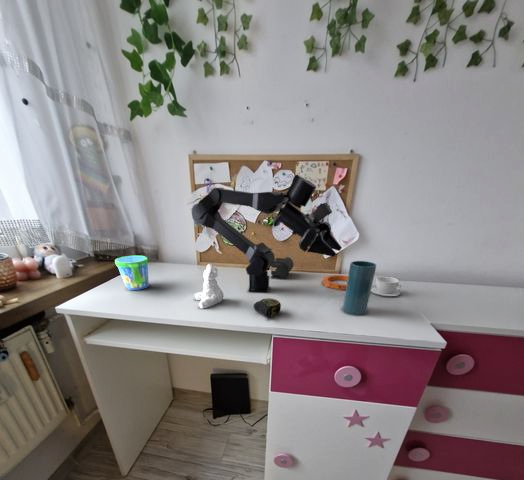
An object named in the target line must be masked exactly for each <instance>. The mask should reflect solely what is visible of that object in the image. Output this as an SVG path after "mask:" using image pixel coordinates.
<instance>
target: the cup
mask: <svg viewBox="0 0 524 480" xmlns="http://www.w3.org/2000/svg"><path fill="white" fill-rule="evenodd" d="M348 270H349V271H348V274H347V276H348V280H347V281H346V284H347V286H346V290H345V293H344V297H343V304H342V311H343V312H344V313H345V314H348V315H352V316H363V315H365V314H367V311H368V305H369V302H370V296H371V293H372V292H371V288H373V283H374V279H375V273H376V270H377V264H376V263H375V262H372V261H366V260H354V261H351V262H350V265H349V269H348Z"/></svg>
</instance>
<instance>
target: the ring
mask: <svg viewBox="0 0 524 480" xmlns="http://www.w3.org/2000/svg"><path fill="white" fill-rule="evenodd" d="M347 280H348V275H344V274H331V275H326V276H324V277H323V279H322V284H323V285H324V286H325V287H327V288H331V289H334V290H340V291H346V286H347V283H346V284H345V283H336V282H332V281H345V282H347Z"/></svg>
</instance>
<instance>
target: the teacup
mask: <svg viewBox="0 0 524 480" xmlns="http://www.w3.org/2000/svg"><path fill="white" fill-rule="evenodd" d="M398 287H399V288H398ZM402 287H403V285H401V284H400V280H399V279H398V278H396V277H391V276H377V277H376V278H375V286H372V288H371V292H370V293H373V294H375V295H378V296H383V297H396V296H397V297H398V296H400V294H401V292H400V290H402ZM397 288H398V289H397Z"/></svg>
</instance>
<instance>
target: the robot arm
mask: <svg viewBox="0 0 524 480" xmlns="http://www.w3.org/2000/svg"><path fill="white" fill-rule="evenodd" d="M316 189H317V186H316V184H314V183H313V182H312V181H310V180H308V179H307V178H306V179H305V178H304V177H302V176H300V175H299V174H294V176H293V179H292V182H291V184H290V186H289V187H288V190H287V191H286V192H278V191H262V192H249V191H242V190H236V189H235V190H234V189H226V188H223V187H213V188H212V189H210V191H209V192H208V194H206V195H205V196H204V197H202V198H201V199H200V200H199V201H198V202H197V203H195V204H194V205H192V208H191V217H192V220H193V221H194V222H196V223H197V224H199V225H201V226H202V227H205V228H207V229H211V230H214V231H215V232H216V233H217V234H219V235H220V236H221V237H222V238H223V239H224V240H226V241H227V242H229V243H230V244H231V245H232V246H234V247H235V248H236V249H238V250H239V251H240V252H241V253H243V254H244V255H245V256H246V258H247V260H248V262H249V264H248V266H246V267H245V271H246V275H248V276H249V277H248V282H249V283H248V284H249V285H248V292H250V293H251V292H253V293H267V292H268V290H269V289H270V275H268V274H269V272H268V271H270V269H271V266H272V265H273V264H274V261H275V259H276V258H275V253H274V252H273V251H272V250H273V248H270V247H269V246H267V245H266V244H265V242H264V241H263V242H259V243H257V244H256V243H254V242H252V241H251V240H250V239H249V238H248V237H246V236H245V235H244V234H243V233H241V232H240V230H238V229H236V228H235V227H233V226H232V225H231V224H230V223H229V222H227V221H226V220H225V219H224V218H223V217H222V215H221V214H220V213H221V212H220V209H221V208H222V206H223V203H225V204H231V205H237V206H245V207H250V208H252V209H254V210H256V211H257V212H261V213H263V214H267V215H269V214H274V213H277V214H276V216H273V217H272V223H273V227H274V228H275V227H278V226H280V225H281V224H282V225H284V226H285V227H287V229H289V230H291V231H292V232H291V234H292V235H293V236H295V235H297V236H298V237H300V240H299V242H298V248H299V249H300V250H301V251H302V252H307V253H312V254H318V255H319V254H320V255H323V256H328V257H333V258H334V257H336V255H337V253H336V251H341V250H342V246H341V245H340V243H339V242H338V241H337V239H336V238H335V237H334V235H333V234H332V226H331V224H330V223H329V222H328V221H323V222H321V221H322V220H323V219H325V218H326V217H327V216H330V215H332V213H333V210H332V209H331V206H330V204H328V203H327V202H323V203H322V202H321V203H319V205H318V206H316V208H315V210H313V211H312V212H311V213H304V212H302V211H301V210H299V209H301V208H302V207H307V204H308V203H309V202H310V199H311V197H313V194H314V193H315V191H316Z"/></svg>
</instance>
